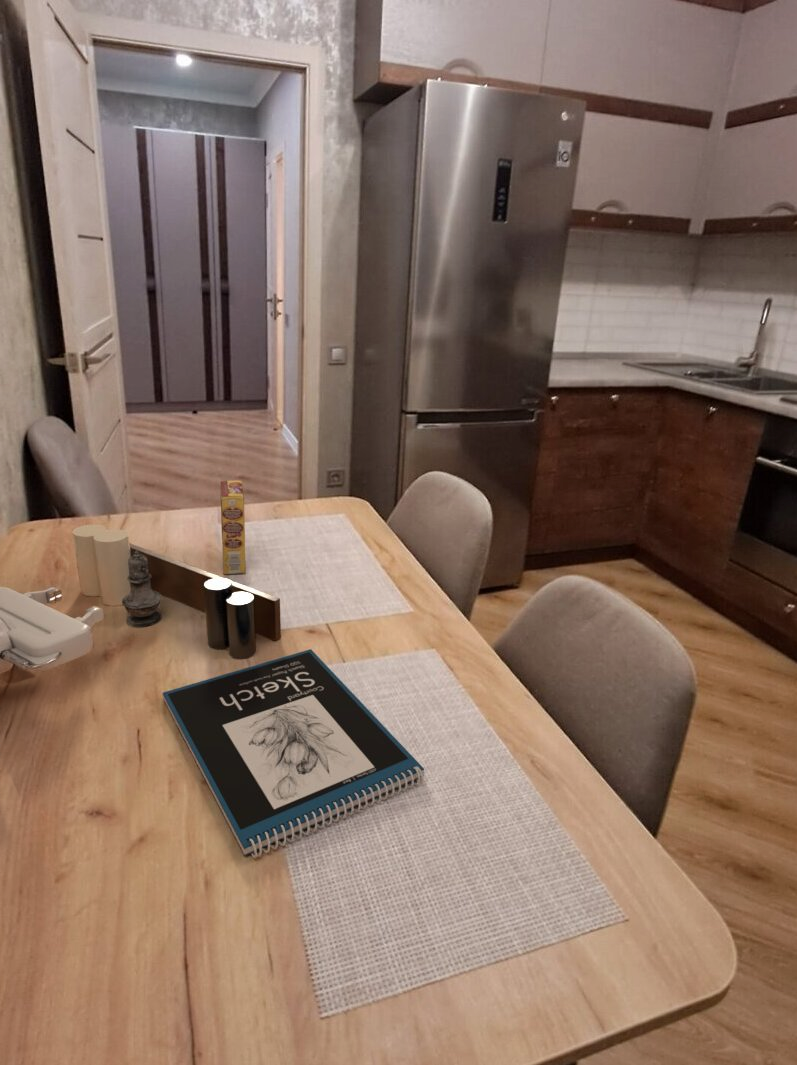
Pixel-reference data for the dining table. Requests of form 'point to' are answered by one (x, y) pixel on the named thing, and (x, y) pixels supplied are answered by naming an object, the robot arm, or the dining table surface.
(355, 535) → the dining table surface
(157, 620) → the dark grey upright piece
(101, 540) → the cream shakers
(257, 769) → the sketchbook
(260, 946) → the dining table surface
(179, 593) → the brown wooden board
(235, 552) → the candy box
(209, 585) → the dark metal shakers
